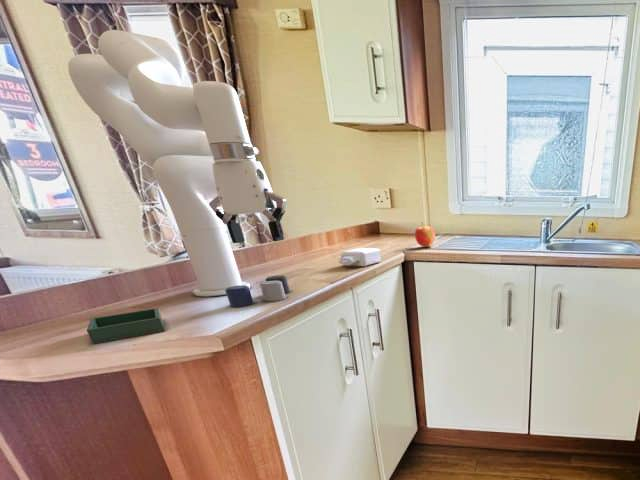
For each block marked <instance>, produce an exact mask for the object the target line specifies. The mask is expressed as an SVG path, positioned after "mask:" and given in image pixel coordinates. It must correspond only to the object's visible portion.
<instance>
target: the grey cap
mask: <svg viewBox="0 0 640 480" xmlns="http://www.w3.org/2000/svg"><path fill="white" fill-rule="evenodd" d="M259 286H260V290H261V294H262V297H263V300H264V302H279V301H284V300H285V299H286V298H287V295H286V294H285V292H284V288H283V285H282V282H281V281H267V282H266V281H263V282H260V284H259Z"/></svg>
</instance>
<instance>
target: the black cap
mask: <svg viewBox="0 0 640 480" xmlns="http://www.w3.org/2000/svg"><path fill="white" fill-rule="evenodd" d="M267 281H281V282H282V285H283V288H284V292H285V295H287V294H289V293H290V292H291V291H290V286H289V283H288V279H287V276H285V275H283V274H282V275H281V274H280V275H271V276H267V277H266V278H265V282H267Z"/></svg>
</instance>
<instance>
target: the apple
mask: <svg viewBox="0 0 640 480" xmlns="http://www.w3.org/2000/svg"><path fill="white" fill-rule="evenodd" d="M414 238H415V241H416V243H417V244H418V245H419V246H421V247H424V248H429V247H432V245H434V242H435V239H436V233H435V230H434V228H433V227H432V226H430V225H424V223H421V225H419V226H418V227H417V228H416V230H415V231H414Z"/></svg>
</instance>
